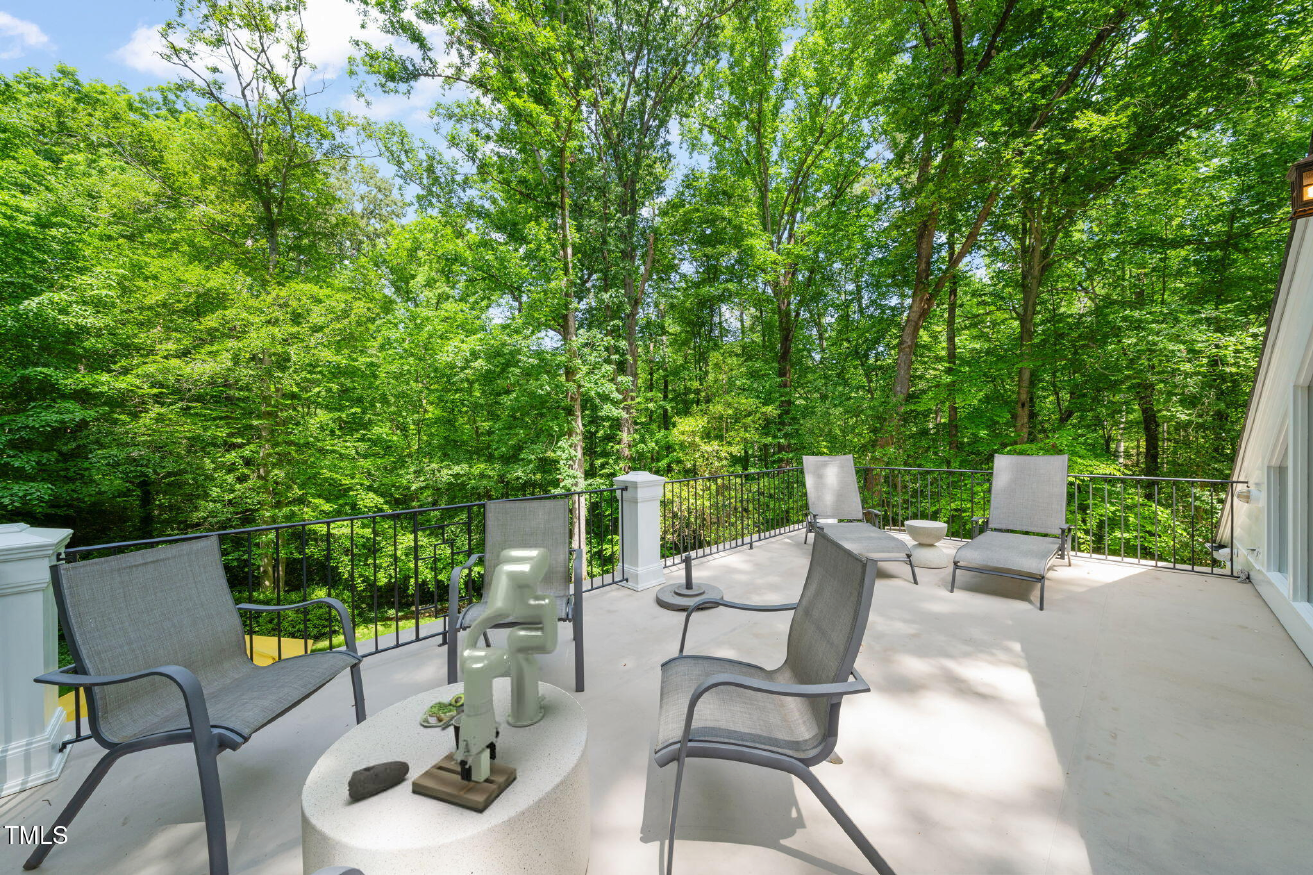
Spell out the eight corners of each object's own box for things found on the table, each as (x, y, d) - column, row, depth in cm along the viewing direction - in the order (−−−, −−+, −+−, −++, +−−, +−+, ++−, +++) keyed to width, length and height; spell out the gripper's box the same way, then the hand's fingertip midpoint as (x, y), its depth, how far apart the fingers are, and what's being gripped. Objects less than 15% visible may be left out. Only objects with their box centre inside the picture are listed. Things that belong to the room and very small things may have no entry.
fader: (476, 777, 132) (476, 745, 132) (489, 780, 130) (489, 748, 131) (468, 784, 129) (468, 752, 129) (481, 788, 127) (481, 755, 128)
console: (451, 761, 142) (451, 750, 142) (516, 778, 133) (516, 767, 133) (412, 792, 129) (412, 780, 129) (481, 813, 120) (481, 800, 120)
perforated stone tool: (408, 774, 137) (408, 749, 138) (411, 783, 133) (411, 758, 133) (346, 796, 128) (347, 770, 129) (347, 807, 124) (347, 780, 125)
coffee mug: (454, 763, 141) (454, 729, 142) (452, 748, 149) (451, 715, 149) (494, 751, 147) (494, 718, 147) (490, 737, 154) (490, 706, 155)
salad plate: (467, 729, 160) (467, 715, 160) (411, 735, 157) (411, 721, 158) (480, 701, 179) (479, 688, 179) (430, 706, 176) (430, 693, 177)
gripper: (489, 689, 140) (489, 748, 139) (443, 719, 124) (444, 786, 123) (509, 692, 137) (510, 753, 136) (465, 724, 121) (466, 793, 120)
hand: (479, 769), depth 130 cm, fingers open, 9 cm apart
